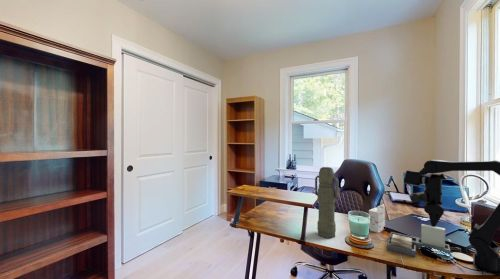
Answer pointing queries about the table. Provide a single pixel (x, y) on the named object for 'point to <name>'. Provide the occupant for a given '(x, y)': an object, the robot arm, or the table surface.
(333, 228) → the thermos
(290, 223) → the table surface
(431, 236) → the pale grey block
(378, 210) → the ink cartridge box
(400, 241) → the offcut top
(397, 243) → the block
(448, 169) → the robot arm
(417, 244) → the rack
